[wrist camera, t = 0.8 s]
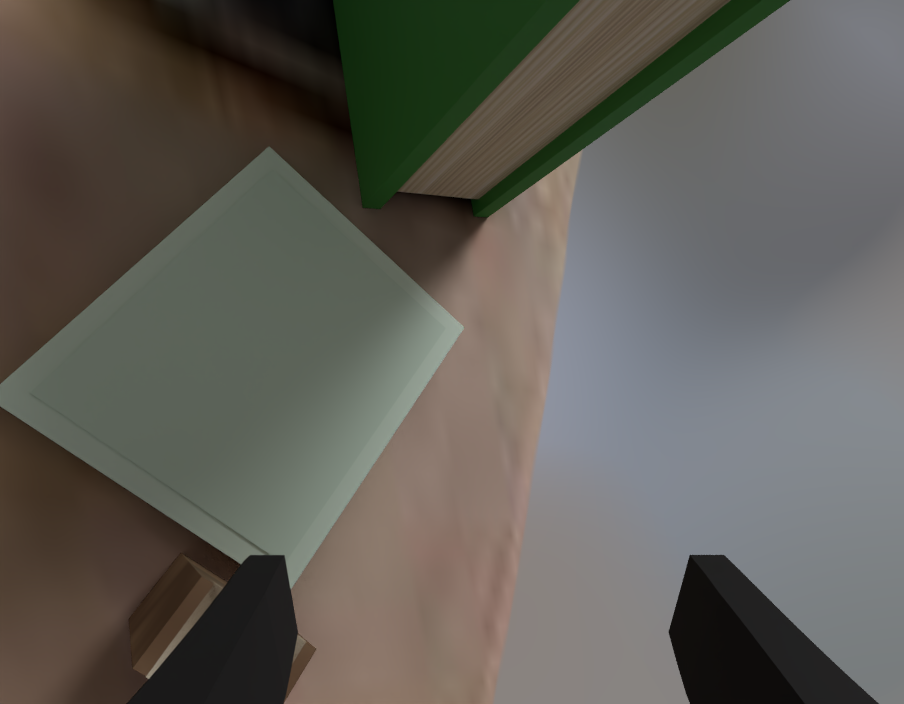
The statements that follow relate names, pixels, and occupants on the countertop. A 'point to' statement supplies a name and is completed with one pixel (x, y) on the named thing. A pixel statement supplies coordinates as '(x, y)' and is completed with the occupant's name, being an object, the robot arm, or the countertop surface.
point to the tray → (243, 368)
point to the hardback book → (509, 83)
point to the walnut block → (184, 617)
